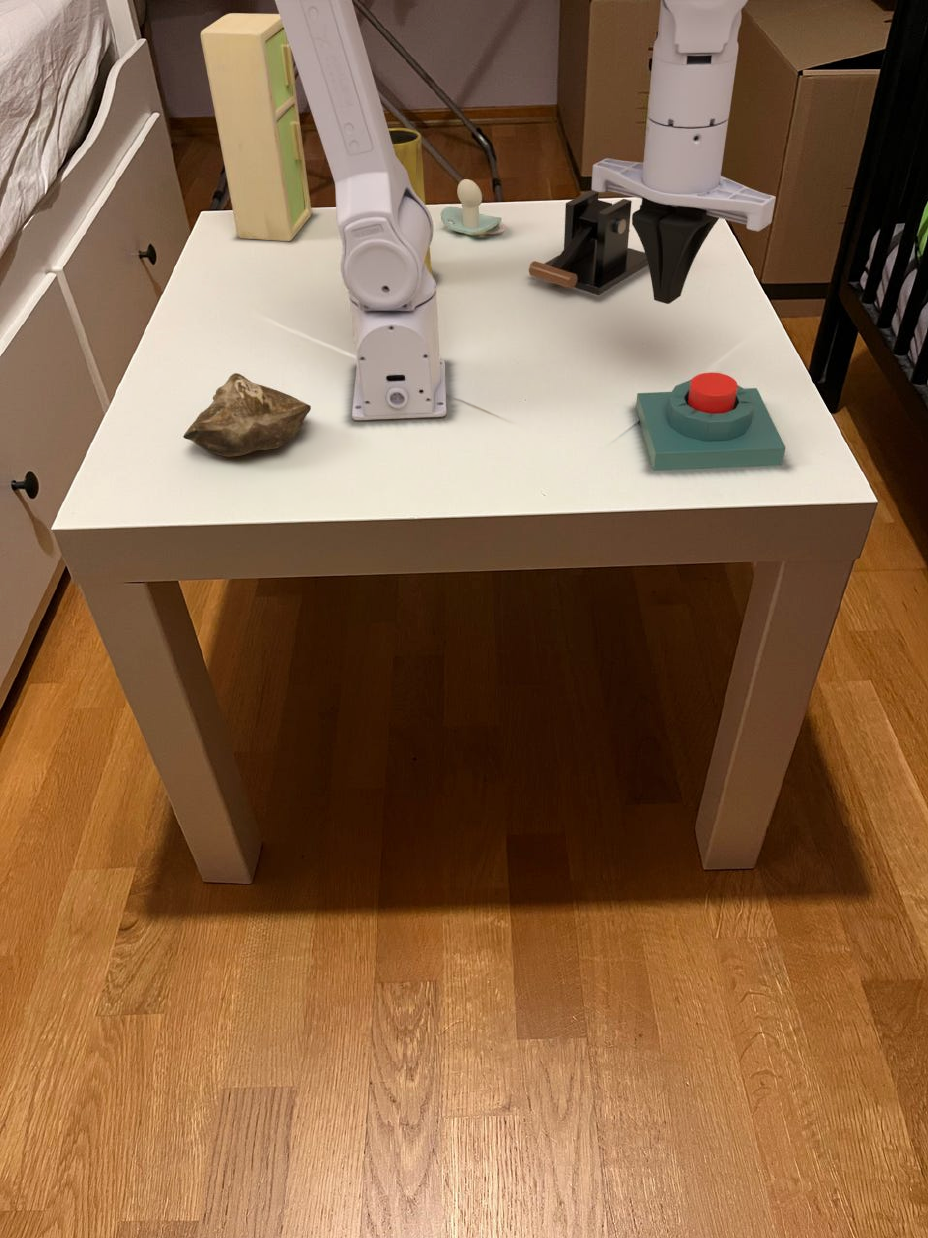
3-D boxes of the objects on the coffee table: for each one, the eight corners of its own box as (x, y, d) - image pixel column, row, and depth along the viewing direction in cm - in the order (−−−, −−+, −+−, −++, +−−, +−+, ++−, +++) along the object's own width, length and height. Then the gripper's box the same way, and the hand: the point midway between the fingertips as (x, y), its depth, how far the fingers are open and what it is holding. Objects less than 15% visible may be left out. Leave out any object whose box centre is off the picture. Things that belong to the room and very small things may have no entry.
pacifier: (464, 218, 115) (434, 234, 111) (463, 162, 111) (432, 177, 107) (517, 231, 112) (488, 247, 108) (518, 173, 107) (488, 189, 104)
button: (739, 414, 76) (742, 394, 75) (692, 416, 76) (695, 396, 75) (728, 390, 78) (731, 371, 77) (683, 392, 78) (686, 372, 77)
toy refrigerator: (297, 242, 111) (266, 31, 96) (236, 239, 112) (197, 30, 98) (319, 215, 116) (292, 13, 102) (261, 212, 118) (226, 12, 103)
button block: (781, 466, 76) (790, 427, 74) (653, 471, 76) (658, 432, 74) (753, 405, 82) (760, 368, 80) (635, 410, 82) (639, 373, 80)
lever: (571, 295, 97) (566, 276, 95) (531, 282, 99) (526, 264, 97) (627, 225, 99) (624, 206, 97) (587, 214, 101) (582, 195, 99)
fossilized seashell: (177, 454, 75) (308, 462, 77) (178, 366, 74) (311, 376, 76) (189, 451, 83) (309, 459, 84) (190, 371, 81) (311, 380, 83)
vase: (432, 292, 100) (424, 145, 90) (372, 293, 100) (358, 147, 91) (434, 267, 105) (427, 124, 95) (378, 268, 105) (364, 126, 95)
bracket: (598, 299, 98) (603, 226, 93) (535, 279, 102) (536, 208, 97) (652, 265, 103) (660, 195, 98) (590, 247, 107) (594, 178, 102)
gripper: (808, 118, 68) (772, 303, 77) (632, 86, 75) (619, 259, 85) (760, 146, 64) (728, 337, 74) (579, 109, 71) (572, 287, 81)
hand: (667, 297), depth 79 cm, fingers closed
